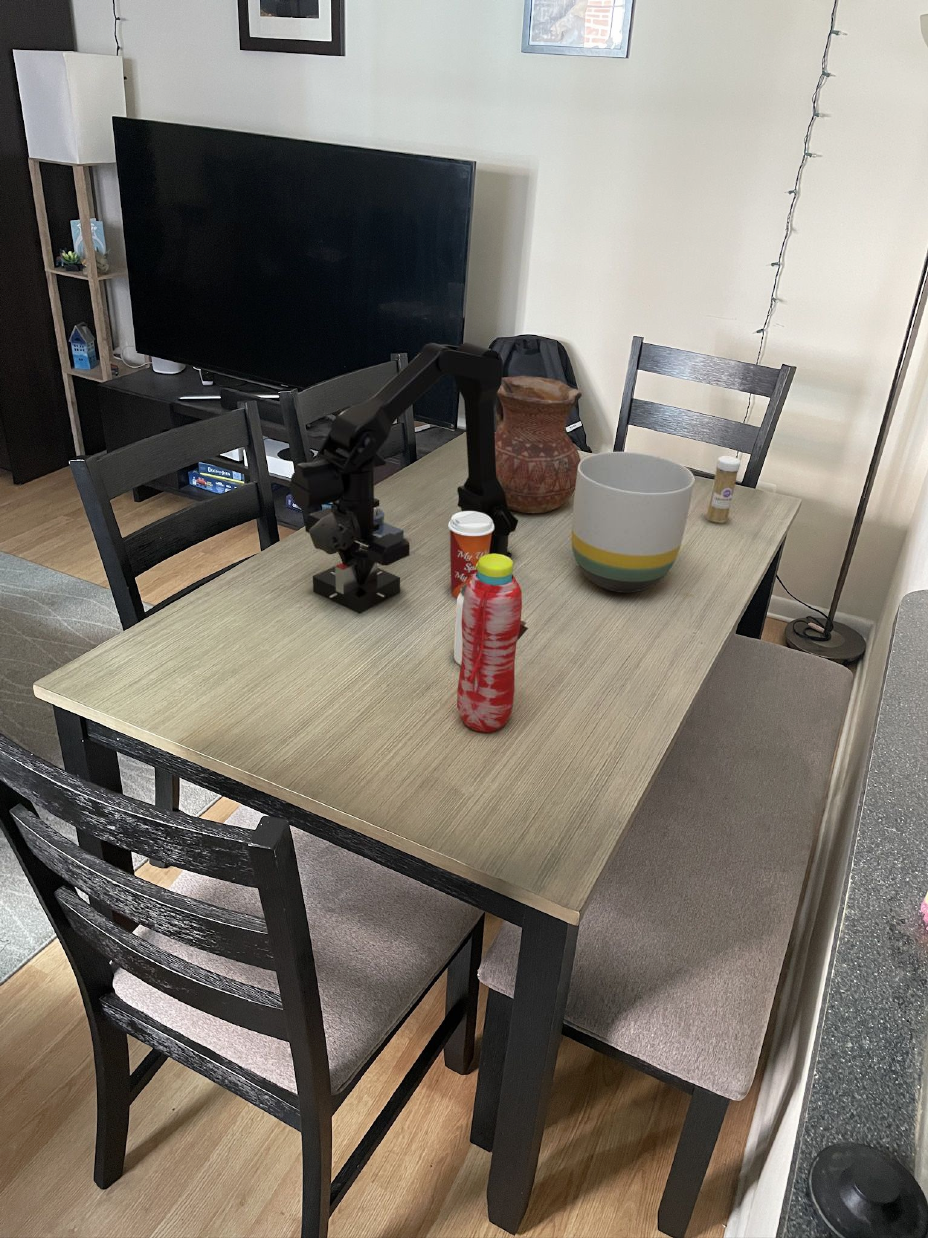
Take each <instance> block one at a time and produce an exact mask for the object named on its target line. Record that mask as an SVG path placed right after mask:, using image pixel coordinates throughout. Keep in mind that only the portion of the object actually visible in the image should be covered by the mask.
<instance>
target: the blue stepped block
mask: <svg viewBox="0 0 928 1238" xmlns="http://www.w3.org/2000/svg"><path fill="white" fill-rule="evenodd" d="M374 522H376V523H379V530H377V531H374V534H379V535H381V536H384V535H387V534H389V533H391V534H394V535H396V536H399V537H401V538H403V539H404V529H401V528H399V527H397V526H394V525H392V524H389V523H387V522H385V512H384V511H383V510H382V509H380V508H378V507H376V516H374Z"/></svg>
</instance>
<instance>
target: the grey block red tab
mask: <svg viewBox="0 0 928 1238" xmlns="http://www.w3.org/2000/svg"><path fill="white" fill-rule="evenodd" d="M336 565H337V566H336ZM336 565H335V578H336V591H337V592H340V593H342V594H345V593H347V592H349V591H351V590H353V589H356V588H358V587H360V586H362V585H364V584H366V583H368V582H370V581H372V580H374V579H376V578H377V568H378V563H376V562H375V564H374V566H373V568H372V570H371V572H370V573H369V575H368V577H367V579H366V581H365V583H364V584H362V585H359V584H358V578H357V562H356V558H353V559H351V560H349V561H347V562H344V563H342V562H339V563H338V564H336Z"/></svg>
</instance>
